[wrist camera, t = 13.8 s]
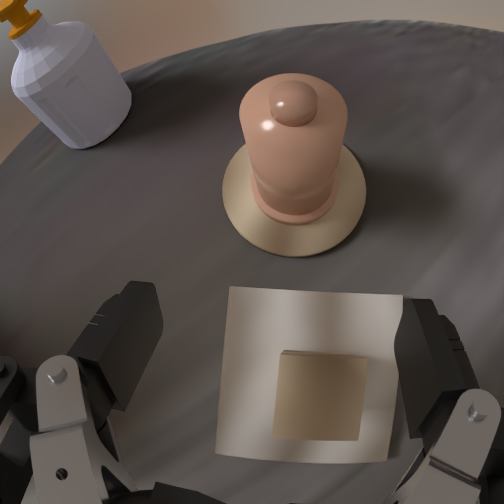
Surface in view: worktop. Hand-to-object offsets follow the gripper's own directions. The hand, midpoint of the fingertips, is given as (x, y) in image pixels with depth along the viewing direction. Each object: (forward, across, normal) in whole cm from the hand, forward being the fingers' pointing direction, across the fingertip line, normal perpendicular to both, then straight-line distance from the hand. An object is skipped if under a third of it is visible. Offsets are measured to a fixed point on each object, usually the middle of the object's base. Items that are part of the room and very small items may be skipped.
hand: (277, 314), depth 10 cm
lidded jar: (+16, 0, +1) cm, 16 cm away
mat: (+16, 0, +2) cm, 16 cm away
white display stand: (+6, -2, +11) cm, 13 cm away
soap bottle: (+23, +21, -5) cm, 31 cm away
